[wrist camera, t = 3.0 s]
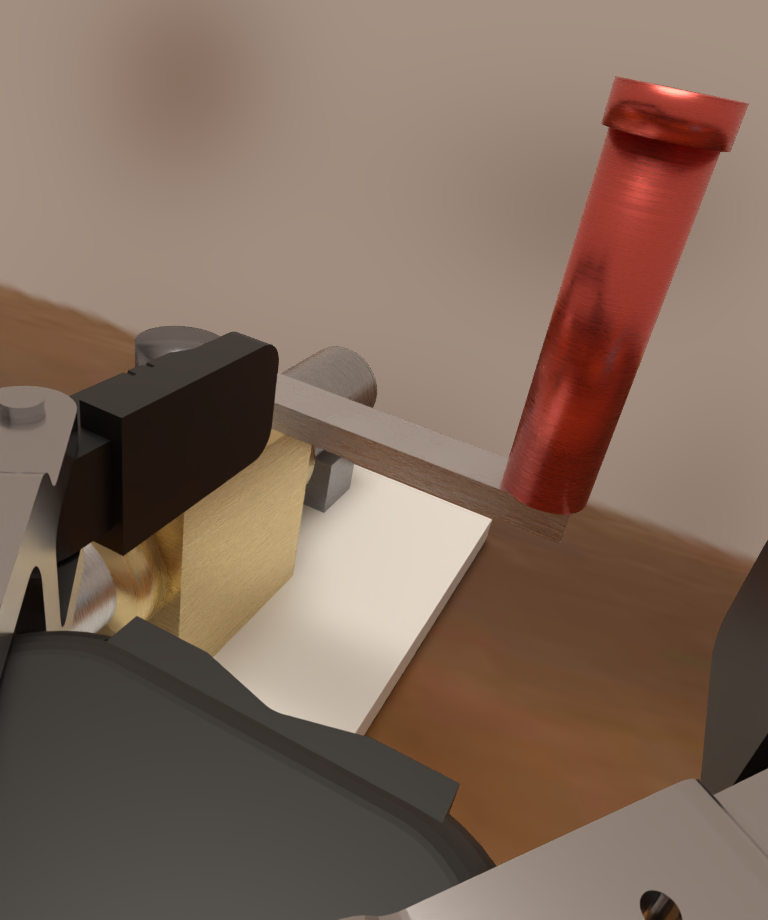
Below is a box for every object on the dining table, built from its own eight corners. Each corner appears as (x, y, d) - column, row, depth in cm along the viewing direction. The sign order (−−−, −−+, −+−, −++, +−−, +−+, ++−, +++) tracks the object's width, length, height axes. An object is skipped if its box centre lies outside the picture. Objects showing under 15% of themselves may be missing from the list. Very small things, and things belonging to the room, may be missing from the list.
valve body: (-234, 810, 22) (-343, 550, 17) (278, 443, 44) (295, 288, 39) (-63, 937, 20) (-129, 686, 15) (381, 485, 42) (413, 327, 37)
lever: (115, 389, 26) (109, -28, 20) (174, 362, 29) (185, -13, 22) (566, 574, 21) (747, 104, 15) (587, 522, 24) (749, 103, 18)
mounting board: (-351, 741, 24) (-367, 710, 23) (199, 422, 48) (200, 402, 47) (131, 1108, 18) (131, 1083, 18) (485, 540, 42) (491, 519, 41)
